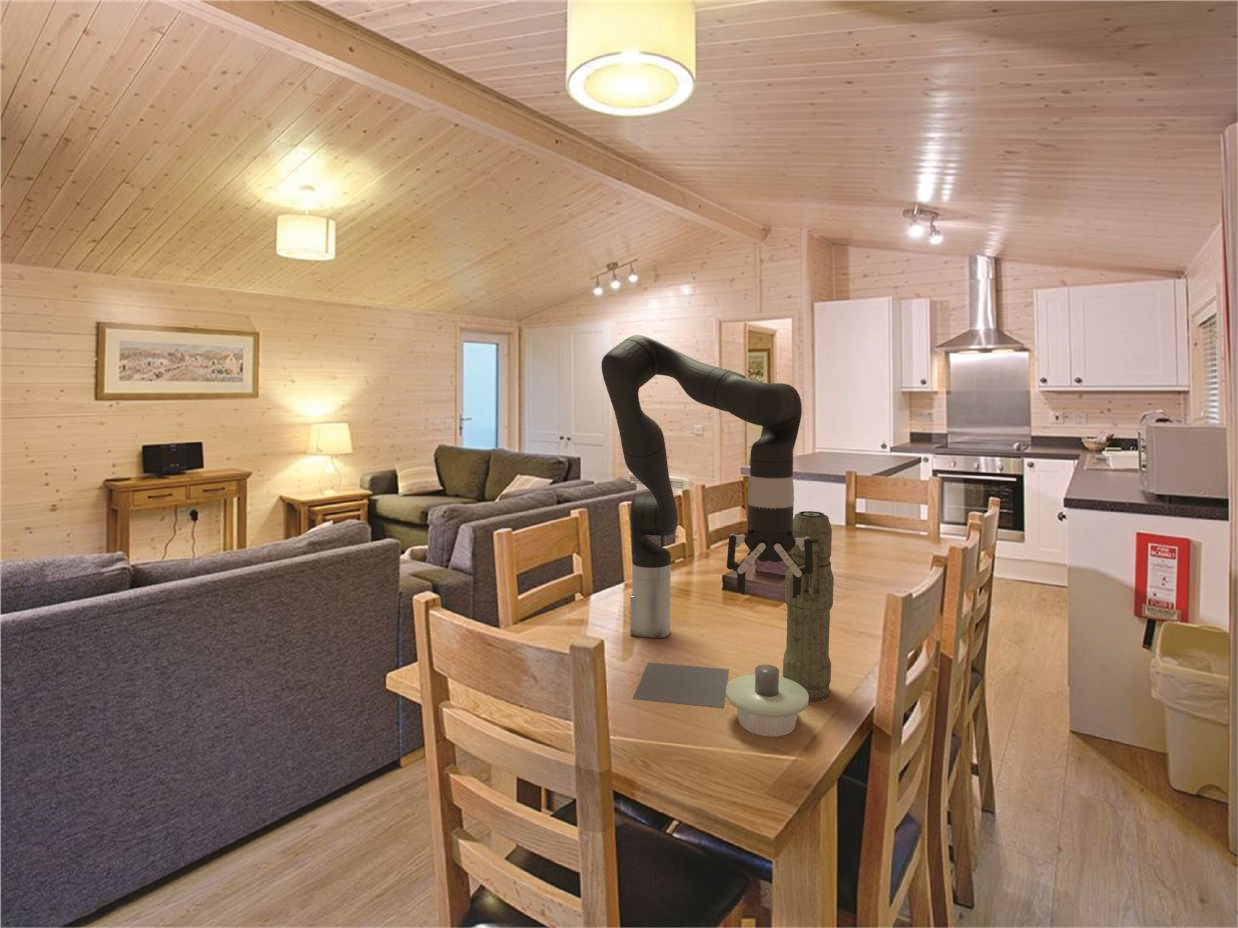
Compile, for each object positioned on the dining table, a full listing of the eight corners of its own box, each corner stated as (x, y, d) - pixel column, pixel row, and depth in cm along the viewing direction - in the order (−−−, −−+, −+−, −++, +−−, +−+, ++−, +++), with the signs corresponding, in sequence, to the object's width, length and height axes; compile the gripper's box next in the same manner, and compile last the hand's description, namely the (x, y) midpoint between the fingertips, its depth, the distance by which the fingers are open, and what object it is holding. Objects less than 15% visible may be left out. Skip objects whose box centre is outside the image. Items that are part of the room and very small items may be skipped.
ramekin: (752, 703, 121) (753, 676, 121) (810, 722, 114) (811, 694, 114) (722, 727, 113) (722, 698, 112) (782, 750, 106) (782, 719, 105)
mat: (632, 701, 122) (632, 698, 122) (648, 664, 139) (648, 662, 139) (723, 710, 119) (723, 707, 118) (728, 671, 135) (728, 669, 135)
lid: (724, 712, 107) (724, 683, 107) (727, 676, 121) (727, 650, 120) (812, 720, 105) (813, 690, 104) (804, 682, 118) (805, 656, 118)
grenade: (821, 677, 132) (826, 507, 128) (837, 705, 120) (844, 519, 116) (777, 676, 132) (781, 507, 129) (789, 704, 121) (794, 519, 117)
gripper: (726, 504, 108) (725, 599, 109) (816, 507, 105) (813, 605, 106) (729, 497, 115) (727, 586, 117) (812, 499, 112) (810, 591, 114)
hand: (768, 595), depth 112 cm, fingers open, 8 cm apart
